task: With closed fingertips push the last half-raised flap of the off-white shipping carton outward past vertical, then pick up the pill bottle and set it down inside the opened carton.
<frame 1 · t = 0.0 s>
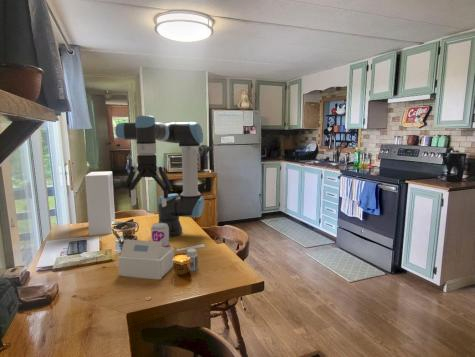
hand: (148, 205, 125), 28 cm above the table, fingers open, 13 cm apart
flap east: (140, 249, 122), point 11 cm above the table, hinge at 55.0°
pill bottle: (192, 269, 130), on the table
supplement can: (161, 255, 145), on the table
carton: (147, 270, 128), on the table
box: (103, 229, 188), on the table
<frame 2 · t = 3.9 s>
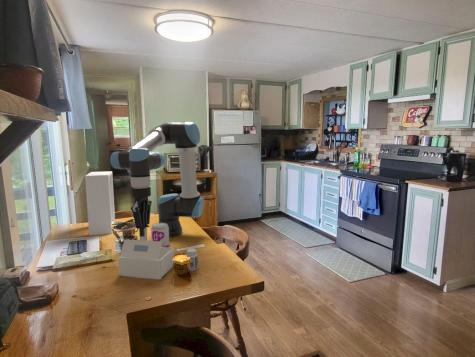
hand: (143, 243, 124), 13 cm above the table, fingers closed
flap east: (140, 249, 122), point 11 cm above the table, hinge at 55.7°, touching gripper
everything else where it was.
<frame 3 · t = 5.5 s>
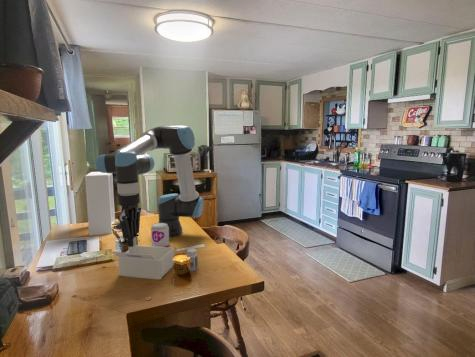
hand: (132, 253, 116), 12 cm above the table, fingers closed
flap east: (134, 255, 117), point 10 cm above the table, hinge at 143.4°, touching gripper
everything else where it was.
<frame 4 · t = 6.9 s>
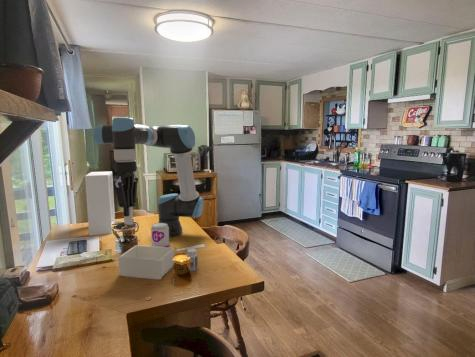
hand: (128, 223, 113), 24 cm above the table, fingers closed
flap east: (134, 258, 117), point 10 cm above the table, hinge at 155.3°
everything else where it was.
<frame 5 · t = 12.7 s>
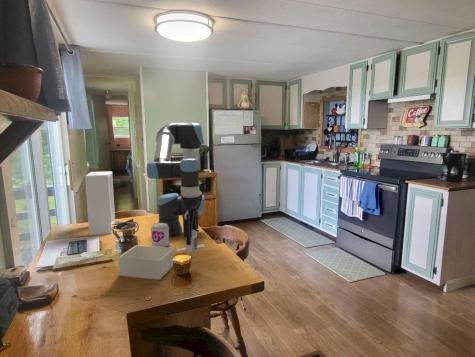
hand: (191, 248, 129), 9 cm above the table, fingers closed on pill bottle, 5 cm apart
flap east: (134, 258, 117), point 10 cm above the table, hinge at 155.8°
pill bottle: (191, 250, 129), point 8 cm above the table, touching gripper
everything else where it was.
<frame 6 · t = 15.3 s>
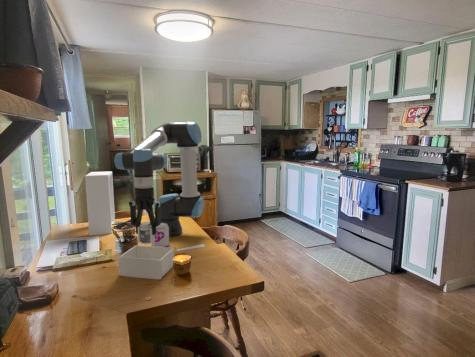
hand: (146, 241, 127), 13 cm above the table, fingers closed on pill bottle, 5 cm apart
pill bottle: (146, 242, 127), point 12 cm above the table, touching gripper
everything else where it was.
when the fingers open (1 cm above the table, at t = 18.1 s): pill bottle stays where it is, resting on carton.
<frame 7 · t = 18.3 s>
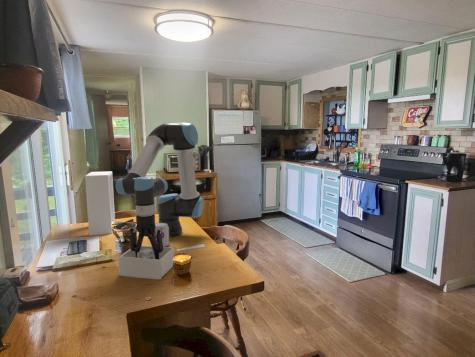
hand: (147, 267, 128), 1 cm above the table, fingers open, 6 cm apart
pill bottle: (148, 269, 128), resting on carton
everything else where it was.
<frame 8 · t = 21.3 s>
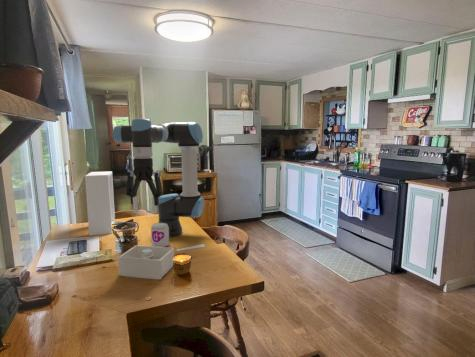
hand: (145, 212, 125), 25 cm above the table, fingers open, 8 cm apart
nothing on the table moved.
at the end: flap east at +156° (first picture: +55°); pill bottle inside the target area on the carton (0.1 cm from its centre), point 0.2 cm above the carton's base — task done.
